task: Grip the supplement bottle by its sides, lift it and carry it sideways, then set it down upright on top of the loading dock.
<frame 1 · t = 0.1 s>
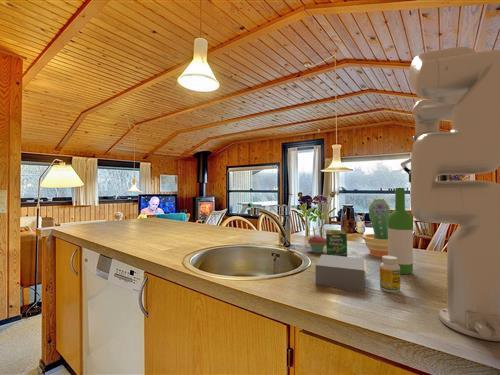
hand: (427, 184, 99), 31 cm above the counter, tool pointing down, fingers open, 9 cm apart
wine bottle: (400, 272, 95), on the counter
coffee box: (336, 263, 106), on the counter
cupcake: (317, 251, 125), on the counter
supplement bottle: (389, 290, 78), on the counter
dock: (340, 279, 86), on the counter
potted cactus: (380, 254, 119), on the counter
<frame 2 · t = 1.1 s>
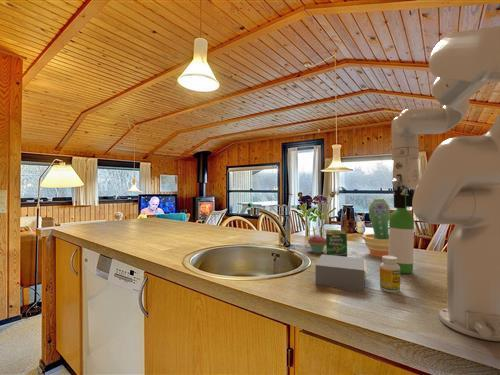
hand: (405, 207, 86), 24 cm above the counter, tool pointing down, fingers open, 9 cm apart
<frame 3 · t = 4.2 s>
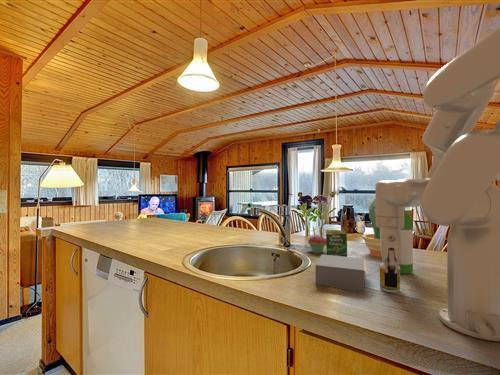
hand: (389, 282, 78), 2 cm above the counter, tool pointing down, fingers closed on supplement bottle, 5 cm apart
supplement bottle: (389, 290, 78), on the counter, touching gripper
when the fingers open (9 cm above the counter, at t = 9.7 s): supplement bottle drops 1 cm, resting on dock.
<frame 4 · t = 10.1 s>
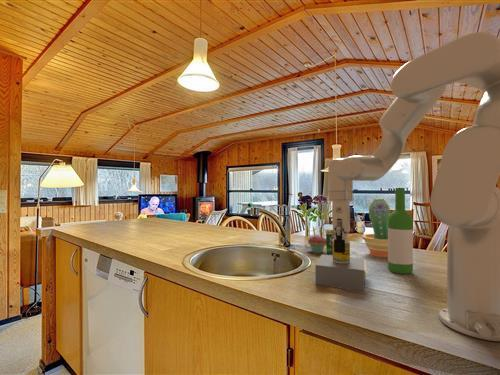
hand: (340, 249, 86), 10 cm above the counter, tool pointing down, fingers open, 9 cm apart
supplement bottle: (341, 262, 86), point 6 cm above the counter, touching dock
everything else where it was.
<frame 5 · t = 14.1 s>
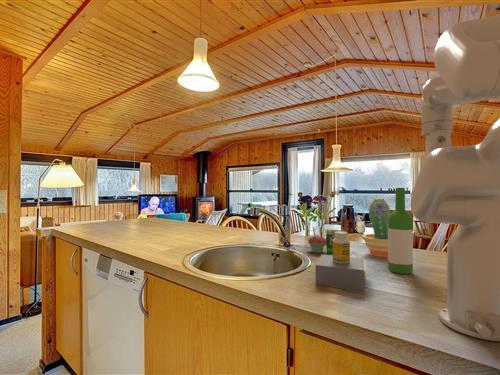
hand: (436, 186, 79), 30 cm above the counter, tool pointing down, fingers open, 9 cm apart
nothing on the counter moved.
at the end: supplement bottle inside the target area on the dock (0.2 cm from its centre), point 5.8 cm above the dock's base; supplement bottle tilted 0°; the gripper is holding nothing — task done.
